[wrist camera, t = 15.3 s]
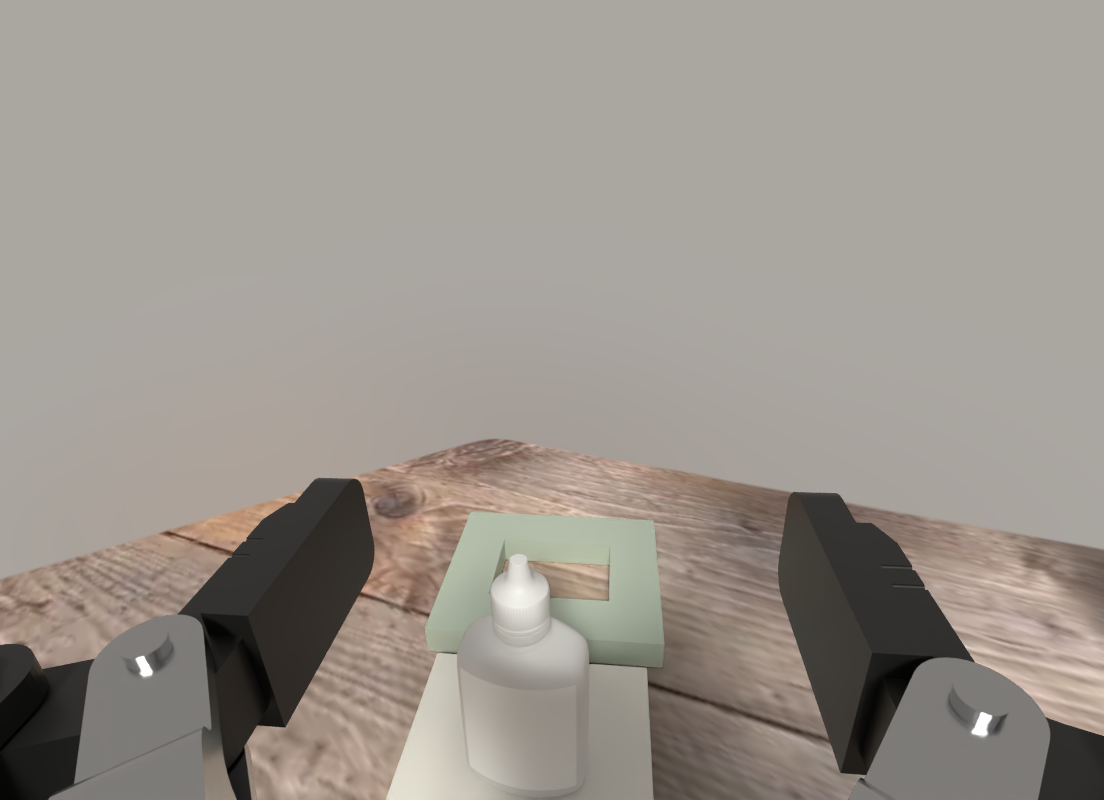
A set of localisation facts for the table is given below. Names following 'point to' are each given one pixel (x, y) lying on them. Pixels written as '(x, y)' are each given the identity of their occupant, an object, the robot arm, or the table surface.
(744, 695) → the table surface
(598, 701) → the tile
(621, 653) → the holder
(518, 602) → the eye dropper bottle
